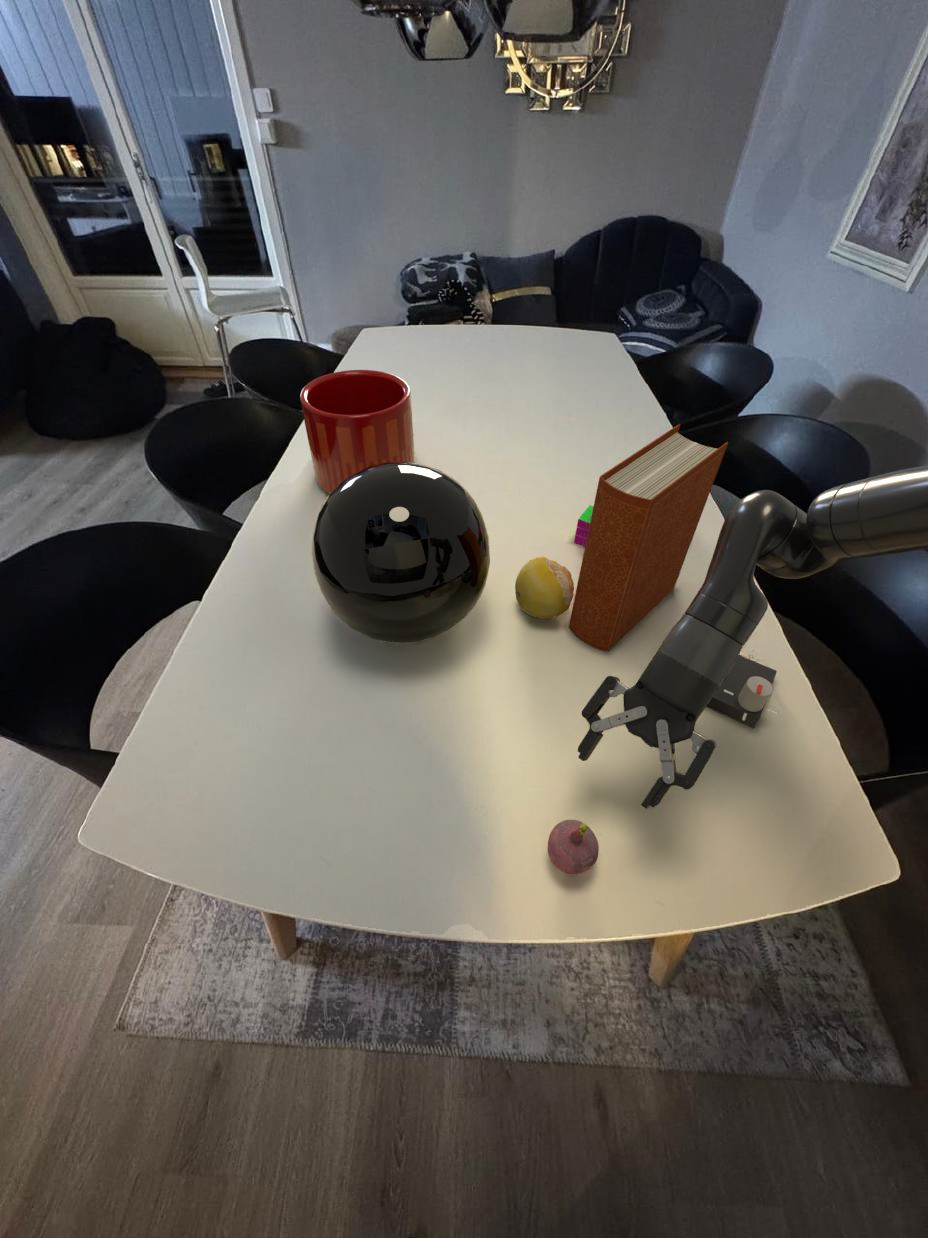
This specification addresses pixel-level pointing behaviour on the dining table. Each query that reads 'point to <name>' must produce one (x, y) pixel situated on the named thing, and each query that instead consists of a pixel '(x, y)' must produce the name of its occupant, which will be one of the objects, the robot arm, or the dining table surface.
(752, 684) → the burner knob
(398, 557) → the ball
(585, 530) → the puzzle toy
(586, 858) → the vegetable
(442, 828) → the dining table surface
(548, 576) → the fruit
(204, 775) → the dining table surface
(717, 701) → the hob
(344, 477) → the planter
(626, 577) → the book
